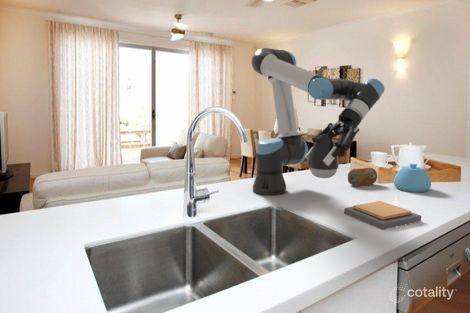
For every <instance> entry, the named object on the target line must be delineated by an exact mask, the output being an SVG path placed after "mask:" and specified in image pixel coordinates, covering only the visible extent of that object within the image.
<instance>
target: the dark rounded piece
mask: <svg viewBox="0 0 470 313" xmlns="http://www.w3.org/2000/svg"><path fill="white" fill-rule="evenodd" d="M311 140H312V142H313V141H315V143H314V142H313V145H312V146H313V148H312V147H311V148H312V151H311V155H310V160H309V161H308V167H309V170H310V173H311V174H312V176H314V177H316V178H319V179H329V178H331V177H334V176H335V175H336V173H337V172H338V169H339V167H340V166H339V155H338V156H337V157H336V158H335V159H334V160H333V161H332V162H331V164H330V165H329V166H327V165H326V164H325V163H324V161H323V160H324V158H325V157H326V156H327V155H328V153H329V152H330V151H331V150H332V148H333V147H334V146H336V145H335V142H334V139H333V138H331V137H330V136H329V135H326V134H323V135H320V136H319V137H318V138H315V137H311Z"/></svg>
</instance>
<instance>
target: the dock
mask: <svg viewBox="0 0 470 313" xmlns="http://www.w3.org/2000/svg"><path fill="white" fill-rule="evenodd" d="M343 214H345V215H347V216H349V217H351V218H354V219H357V220H359V221H361V222H364V223H366V224H368V223H369V224H368V225H371V226H373V225H374V226H373V227H375V226H376V227H375V228H378V229H380V228H381V229H380V230H382V229H384V230H388V229H393V228H396V226H398V227H401V225H402V226H405V224H407V225H410V223H411V224H416V223H420V222H422V215H421V214H418V213H415V212H412V211H411V214H409V215H404V216H399V217H394V218H389V219H384V220H382V219H380V218H377V217H374V216H372V215H369V214H367V213H364V212H362V211H359V210H356V209H354V208H353V206H347V207H344V208H343ZM419 221H420V222H419ZM415 222H416V223H415ZM392 227H393V228H392ZM387 228H388V229H387Z"/></svg>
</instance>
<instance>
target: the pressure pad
mask: <svg viewBox="0 0 470 313" xmlns="http://www.w3.org/2000/svg"><path fill="white" fill-rule="evenodd" d="M352 207H353V208H354V209H356V210H359V211H362V212H364V213H367V214H369V215H372V216H374V217H377V218H380V219H382V220H384V219H389V218H394V217H399V216H404V215H409V214H411V212H412V210H410V209H406V208H404V207H400V206H397V205H394V204H392V203H388V202H385V201H382V200H378V201H377V200H376V201H372V202H367V203H361V204H355V205H353V206H352Z"/></svg>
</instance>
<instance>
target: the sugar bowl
mask: <svg viewBox="0 0 470 313" xmlns="http://www.w3.org/2000/svg"><path fill="white" fill-rule="evenodd" d="M393 186H394V187H396V189H398V190H400V191H404V192H408V193H426V192H428V191H429V190H430V189H431V188H432V181H431V178H430V176H429V174H428V172H427V170H426V169H425V168H424V167H421V166H420V167H419V166H418V164H417V163H409V165H407V166H402V167H401V168H400V169H399V170H398V172H397V173H396V175H395V177H394V180H393Z"/></svg>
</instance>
